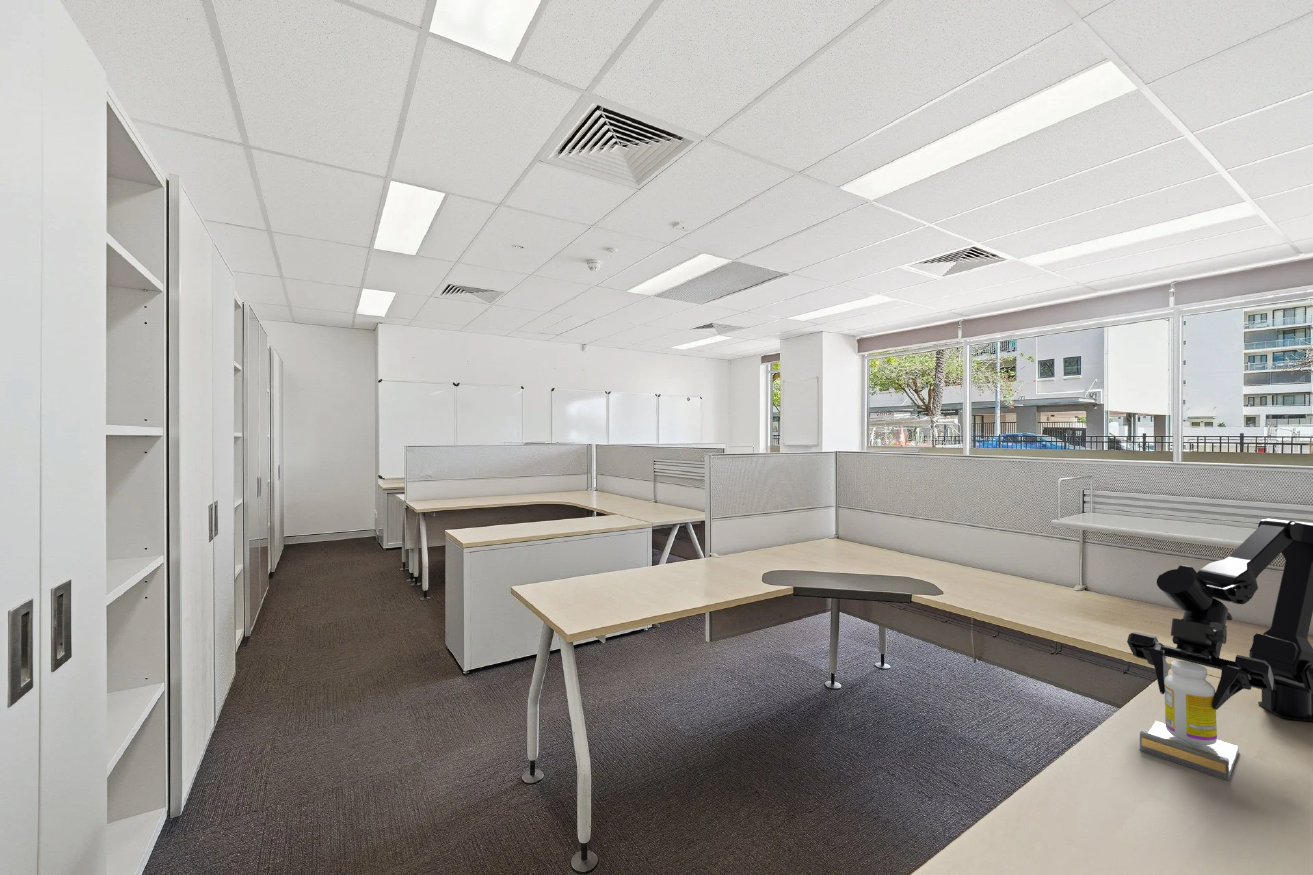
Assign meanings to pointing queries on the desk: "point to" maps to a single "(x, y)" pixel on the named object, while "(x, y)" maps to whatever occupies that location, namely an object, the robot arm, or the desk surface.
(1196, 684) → the supplement bottle
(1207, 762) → the grey metal slab
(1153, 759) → the desk surface
